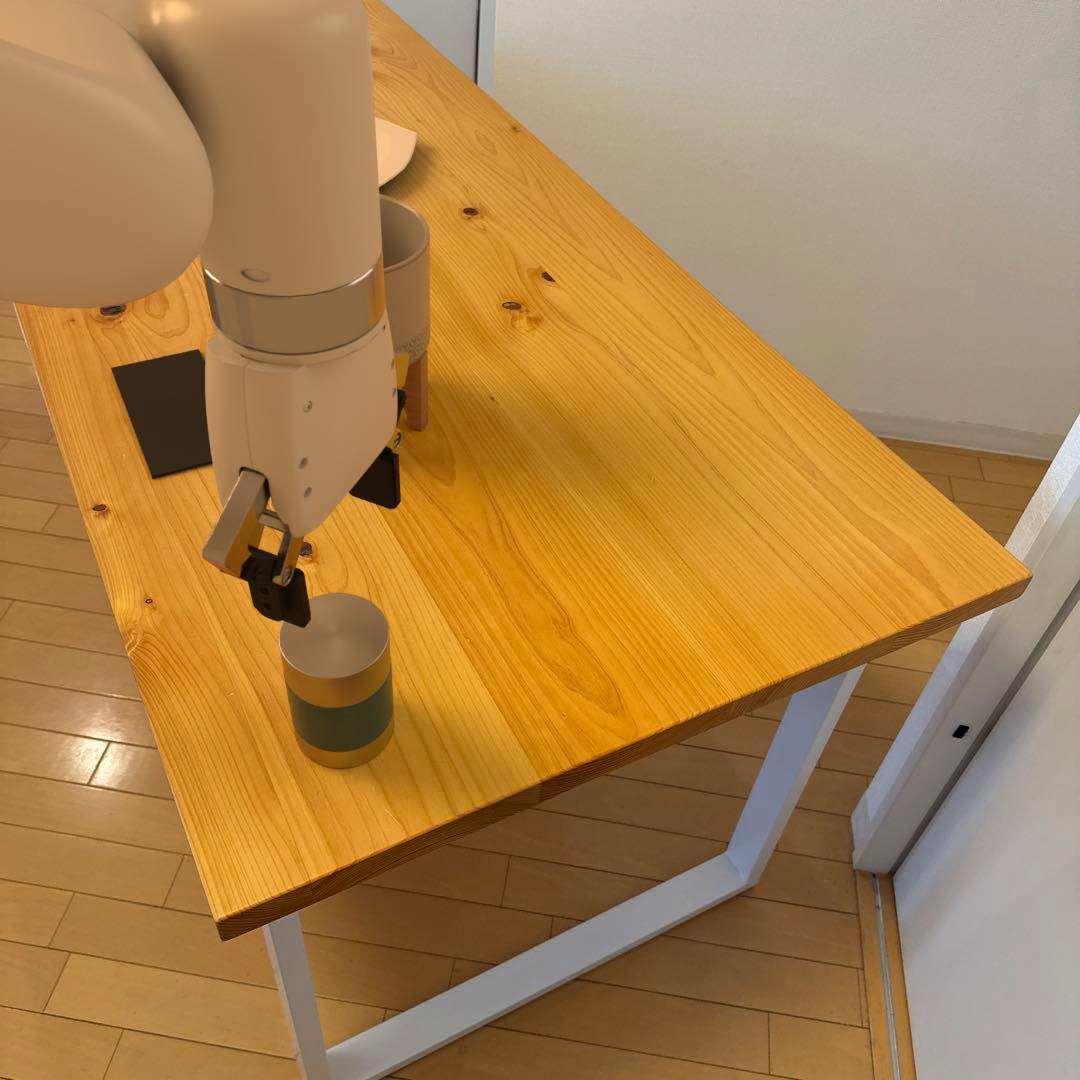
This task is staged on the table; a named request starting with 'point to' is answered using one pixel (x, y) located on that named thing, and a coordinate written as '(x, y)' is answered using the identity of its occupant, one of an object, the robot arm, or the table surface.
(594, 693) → the table surface
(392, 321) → the planter
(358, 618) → the can
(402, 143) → the plate
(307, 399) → the robot arm
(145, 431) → the black flat rectangular slab
